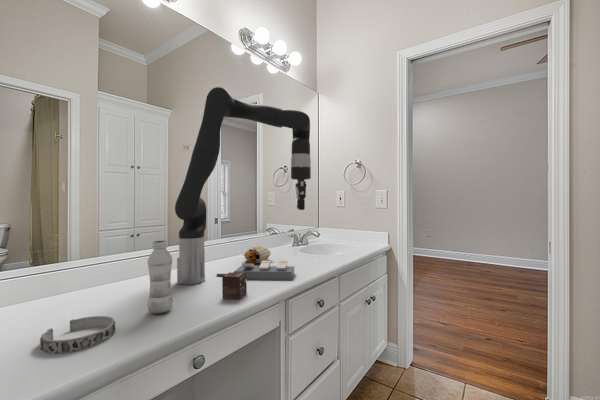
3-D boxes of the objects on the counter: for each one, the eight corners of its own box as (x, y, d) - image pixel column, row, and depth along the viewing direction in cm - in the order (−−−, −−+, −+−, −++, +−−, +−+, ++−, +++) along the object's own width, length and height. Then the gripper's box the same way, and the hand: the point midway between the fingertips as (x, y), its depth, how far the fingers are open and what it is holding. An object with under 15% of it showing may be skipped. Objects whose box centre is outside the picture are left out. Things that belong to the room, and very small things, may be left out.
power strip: (212, 279, 115) (212, 271, 115) (220, 273, 124) (220, 265, 124) (291, 280, 112) (291, 271, 112) (294, 274, 121) (294, 266, 121)
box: (239, 300, 90) (239, 276, 90) (221, 299, 92) (221, 276, 92) (247, 293, 96) (246, 272, 96) (230, 293, 98) (230, 271, 98)
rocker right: (276, 271, 114) (276, 267, 114) (278, 264, 120) (278, 260, 120) (285, 271, 114) (285, 267, 114) (287, 264, 120) (287, 260, 119)
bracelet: (35, 363, 57) (35, 348, 57) (44, 337, 68) (44, 324, 68) (117, 342, 65) (117, 329, 65) (113, 321, 76) (113, 310, 76)
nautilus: (253, 270, 130) (227, 269, 137) (278, 258, 149) (254, 257, 156) (251, 253, 130) (226, 252, 137) (276, 243, 149) (253, 243, 156)
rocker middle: (259, 271, 115) (259, 267, 115) (262, 264, 121) (262, 260, 120) (268, 271, 115) (267, 267, 114) (270, 264, 121) (270, 260, 120)
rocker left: (241, 267, 115) (241, 263, 116) (245, 268, 121) (246, 263, 121) (250, 267, 115) (250, 263, 115) (254, 268, 121) (254, 263, 121)
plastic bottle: (166, 306, 86) (165, 239, 86) (177, 311, 82) (176, 241, 82) (143, 312, 81) (142, 241, 81) (154, 318, 77) (153, 243, 77)
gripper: (290, 168, 116) (290, 208, 116) (291, 164, 102) (291, 210, 102) (308, 168, 117) (308, 208, 117) (312, 164, 103) (312, 210, 103)
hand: (300, 209), depth 110 cm, fingers open, 8 cm apart
